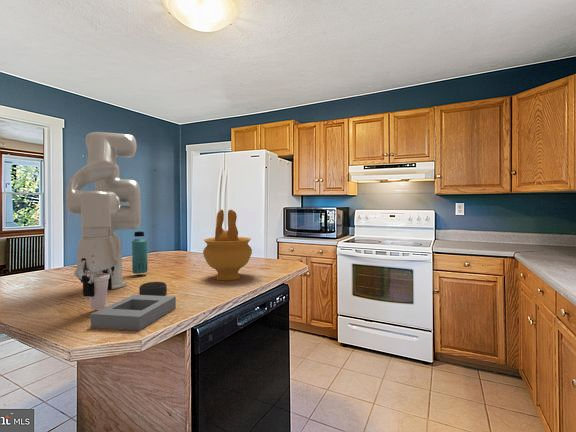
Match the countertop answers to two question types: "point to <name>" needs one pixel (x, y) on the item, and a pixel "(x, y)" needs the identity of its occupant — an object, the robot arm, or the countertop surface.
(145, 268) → the beverage bottle
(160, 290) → the smart speaker
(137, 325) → the socket block
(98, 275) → the smoothie
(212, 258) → the decorative bowl
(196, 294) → the countertop surface
